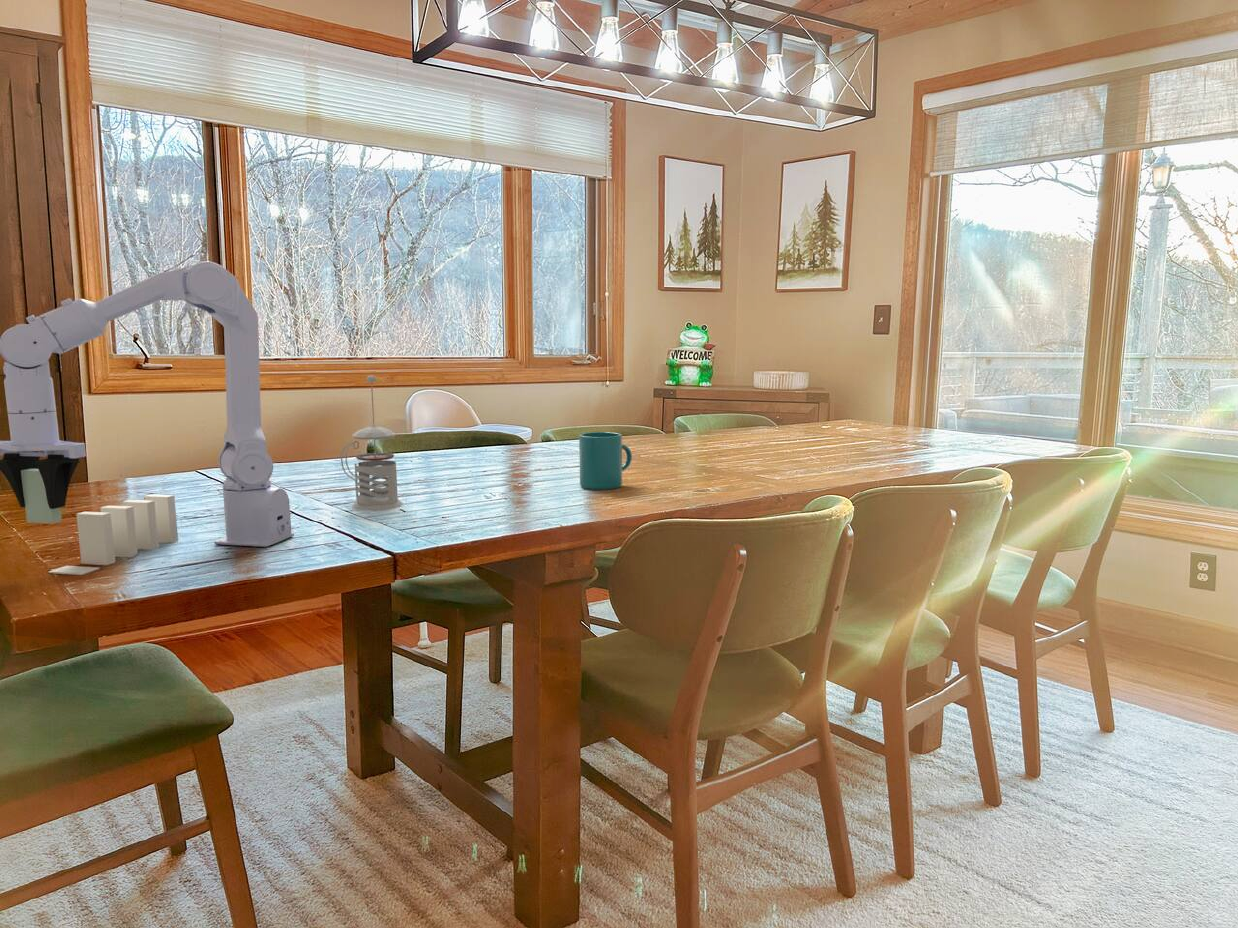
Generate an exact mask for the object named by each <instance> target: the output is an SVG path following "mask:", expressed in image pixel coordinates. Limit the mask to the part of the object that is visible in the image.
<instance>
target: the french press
mask: <svg viewBox="0 0 1238 928" xmlns="http://www.w3.org/2000/svg"><path fill="white" fill-rule="evenodd" d="M365 382H366V383H370V385H371V386H370V388H371V409H372V411H371V412H372V425H371V426H367V427H364V428H361V429H358V430H357V431H356V432H355V433H353V434H352V435H351V436H352V437H353V439H356V440H354V441H351V442H350V443H348V444H346V445H345V446H344V447H343V449H342V451H341V455H340V464H341V467H342V470H343V472H344V474H345V475H346V476H347V477H348V478H350V479H352V480H353V481H354V483H355V487H354V488H355V497H356V499H355V502H353V504H352V505H351V508H352V509H353V510H356V511H357V510H358V511H366V512H367V511H368V512H369V511H384V510H385V511H386V510H392V509H397V508H401V507H402V506H403V505H404V503H403V501H402V500H401V499H399V498H398V477H397V476H398V475H397V472H398V471H397V462H396V461H394V460H393V461H392V460H391V459H393V458H394V457H395V454H394V453H390V452H376V450H377V449H376V440H389V439H392V438H395V437H396V435H397V433H395V432H393V430H390V429H388V428H386V427H383V426H382V427H381V426H377V425H375V414H374V413H375V412H374V395H373V394H374V393H373V382H374V383H375V382H377V378H376V376H375V375H368V376H367V377H366V381H365ZM357 440H373V446H374V452H369V453H367V452H366V453H361V454H357V455H355V459H357V460H359V462H358V465H357V463H354V473H353V472H352V471H351V470H350V467H349V464H348V460H347V459H348V457H347V455H348V451H349V449H350V447H351V446H352V445H353V446H352V447H353V449H354V450H357V449H358V448H360V442H359V441H357ZM356 443H357V447H356ZM346 448H347V449H346ZM345 450H346V451H345ZM344 452H345V455H344ZM343 455H344V457H345V466H346V469H347V471H348V473H350V474H351V475H352V476H350V475H349V474H348V473H347V471H346V469H345V467H344V464H343V463H344V461H343ZM370 476H372V477H370ZM353 477H354V478H353ZM380 479H381V480H380ZM382 480H384V481H382ZM378 486H384V487H378ZM358 487H359V488H358Z"/></svg>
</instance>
